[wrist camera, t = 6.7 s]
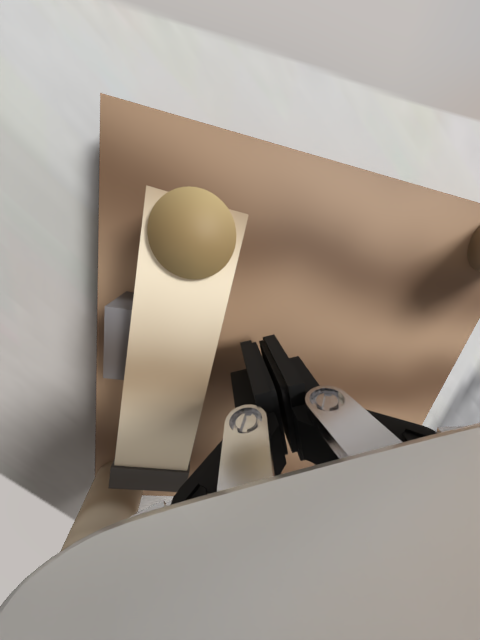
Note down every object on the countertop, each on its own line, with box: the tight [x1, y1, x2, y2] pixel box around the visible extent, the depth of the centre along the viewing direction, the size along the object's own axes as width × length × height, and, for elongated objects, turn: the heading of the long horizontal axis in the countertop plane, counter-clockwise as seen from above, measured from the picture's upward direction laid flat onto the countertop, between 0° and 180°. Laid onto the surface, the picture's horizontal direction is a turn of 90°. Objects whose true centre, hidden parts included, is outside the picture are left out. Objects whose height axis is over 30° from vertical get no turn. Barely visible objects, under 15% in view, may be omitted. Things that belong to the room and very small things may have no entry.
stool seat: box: [60, 93, 480, 552], centre depth 12 cm, size 20×20×8 cm
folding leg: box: [108, 185, 249, 492], centre depth 10 cm, size 12×3×3 cm, turn 166°
